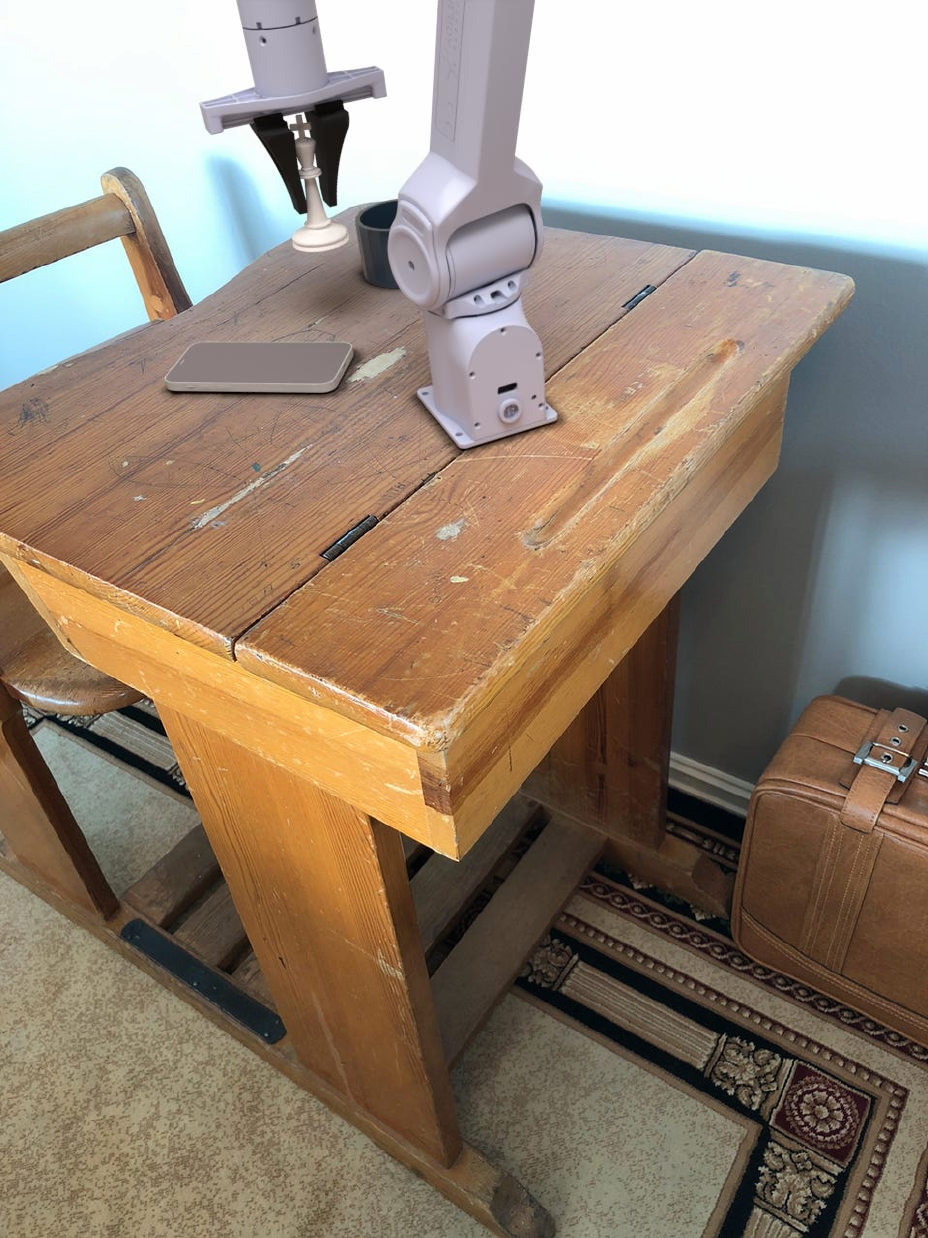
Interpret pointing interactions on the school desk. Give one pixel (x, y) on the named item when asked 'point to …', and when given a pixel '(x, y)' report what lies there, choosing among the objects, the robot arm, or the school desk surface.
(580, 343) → the school desk surface
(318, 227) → the chess piece
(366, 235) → the pen holder
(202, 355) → the smartphone
